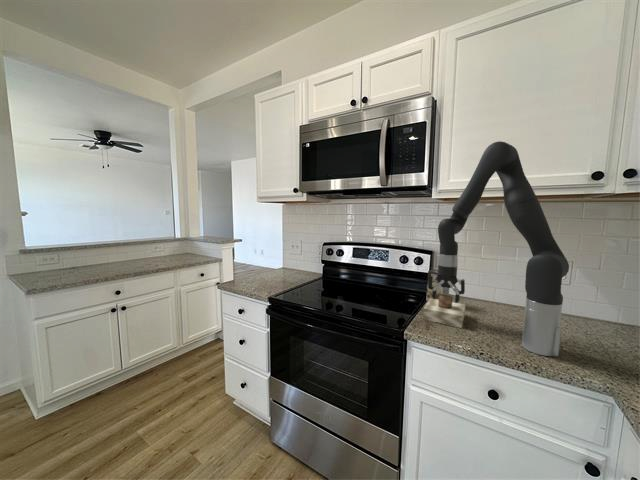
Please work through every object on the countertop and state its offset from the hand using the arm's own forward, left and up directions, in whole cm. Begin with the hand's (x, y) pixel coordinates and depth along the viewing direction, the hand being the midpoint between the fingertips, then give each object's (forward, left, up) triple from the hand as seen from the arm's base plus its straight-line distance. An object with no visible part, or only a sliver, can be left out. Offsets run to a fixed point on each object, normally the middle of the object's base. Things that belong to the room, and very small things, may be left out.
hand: (445, 300), depth 115 cm
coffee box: (+6, -20, -8) cm, 22 cm away
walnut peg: (0, 0, -7) cm, 7 cm away
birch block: (0, 0, -8) cm, 8 cm away
